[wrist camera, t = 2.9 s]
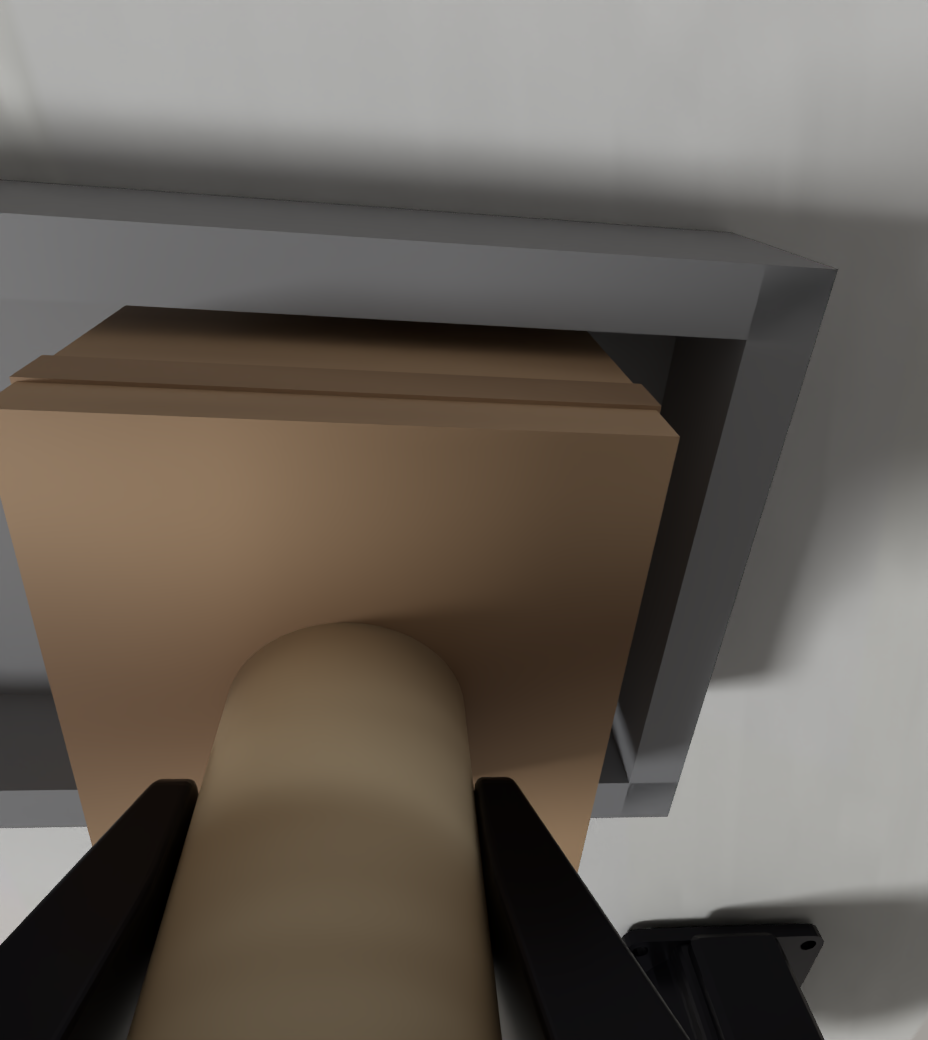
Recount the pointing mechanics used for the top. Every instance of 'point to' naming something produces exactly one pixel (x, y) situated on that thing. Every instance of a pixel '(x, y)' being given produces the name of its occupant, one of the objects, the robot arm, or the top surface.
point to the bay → (459, 300)
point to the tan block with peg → (331, 633)
